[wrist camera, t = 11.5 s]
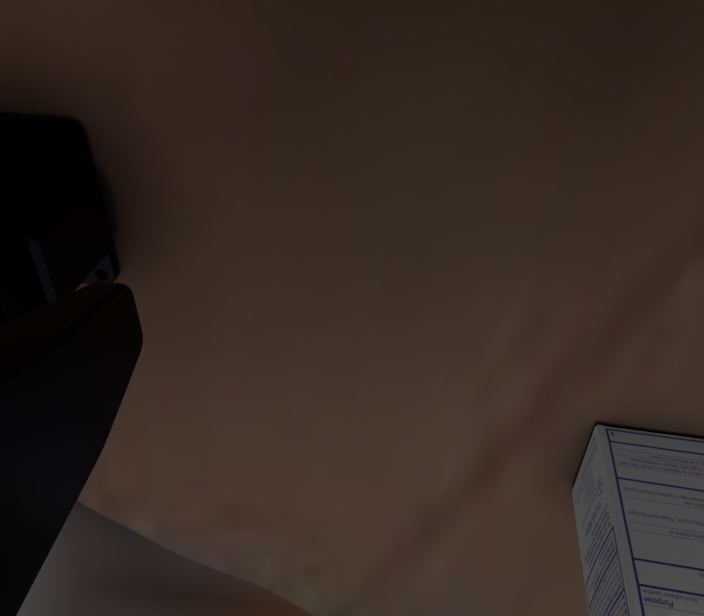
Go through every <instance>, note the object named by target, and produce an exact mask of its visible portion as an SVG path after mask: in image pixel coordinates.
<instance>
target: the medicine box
mask: <svg viewBox="0 0 704 616" xmlns="http://www.w3.org/2000/svg"><path fill="white" fill-rule="evenodd" d="M572 497H573V505H574V512H575V518H576V526H577V533H578V539H579V546H580V553H581V560H582V567H583V575H584V582H585V590H586V597H587V604H588V612H589V616H704V439H699V438H691V437H683V436H676V435H668V434H661V433H653V432H646V431H638V430H630V429H623V428H615V427H608V426H603V425H596V426H595V428H594V431H593V434H592V436H591V439H590V442H589V445H588V448H587V450H586V453H585V456H584V459H583V462H582V464H581V467H580V470H579V473H578V476H577V478H576V481H575V484H574V487H573V490H572Z"/></svg>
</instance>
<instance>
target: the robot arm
mask: <svg viewBox="0 0 704 616" xmlns="http://www.w3.org/2000/svg"><path fill="white" fill-rule="evenodd" d="M63 130H66V131H67V132H68V133H70V135H71V137H72V139H69V138H68V137H66V136H65V134H64V132H63ZM113 247H114V240H113V236H112V232H111V228H110V224H109V220H108V216H107V212H106V208H105V204H104V200H103V196H102V192H101V188H100V186H99V184H98V183H97V181H96V178H95V174H94V170H93V166H92V162H91V158H90V154H89V150H88V146H87V142H86V138H85V134H84V131H83V129H82V127H81V126H80V125H79V124H78V123H77V122H76V121H74V120H73V119H70V118H64V117H50V116H37V115H23V114H9V113H0V616H16V615H17V613H18V611H19V610H20V608H21V606H22V604H23V602H24V600H25V598H26V596H27V594H28V592H29V590H30V588H31V586H32V585H33V583H34V581H35V579H36V577H37V575H38V573H39V571H40V569H41V567H42V565H43V563H44V562H45V560H46V558H47V556H48V554H49V552H50V550H51V548H52V546H53V544H54V542H55V540H56V538H57V537H58V535H59V533H60V531H61V529H62V527H63V525H64V523H65V521H66V519H67V517H68V516H69V514H70V511H71V510H72V508H73V506H74V504H75V502H76V500H77V498H78V496H79V495H80V493H81V491H82V489H83V487H84V485H85V483H86V481H87V479H88V477H89V475H90V473H91V472H92V470H93V468H94V466H95V464H96V462H97V460H98V458H99V456H100V454H101V452H102V449H103V447H104V445H105V443H106V440H107V438H108V435H109V433H110V430H111V428H112V425H113V423H114V420H115V418H116V415H117V412H118V410H119V407H120V405H121V402H122V399H123V397H124V394H125V392H126V389H127V386H128V384H129V381H130V379H131V376H132V373H133V371H134V368H135V366H136V363H137V360H138V358H139V355H140V352H141V349H142V344H143V334H142V329H141V325H140V320H139V316H138V312H137V308H136V304H135V300H134V296H133V293H132V291H131V289H130V287H128V286H127V285H125V284H122V283H113V282H114V281H115V280H116V279H117V277H118V276H119V269H118V265H117V261H116V257H115V253H114V249H113ZM102 270H104V271H105V272H106V273H107V274H108V275H107V274H105V273H103V272H102ZM81 283H85V284H89V285H87V286H85V287H83V288H81V289H79V290H77V291H75V290H76V289H77V288H78V287H79V285H80V284H81ZM74 291H75V292H74Z"/></svg>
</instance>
